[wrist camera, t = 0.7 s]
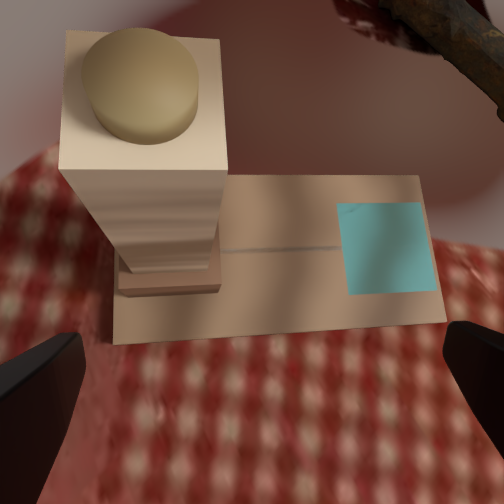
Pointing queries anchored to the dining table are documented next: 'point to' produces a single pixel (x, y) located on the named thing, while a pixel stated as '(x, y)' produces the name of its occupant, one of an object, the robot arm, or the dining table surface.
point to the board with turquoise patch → (303, 263)
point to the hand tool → (458, 40)
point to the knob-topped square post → (148, 153)
